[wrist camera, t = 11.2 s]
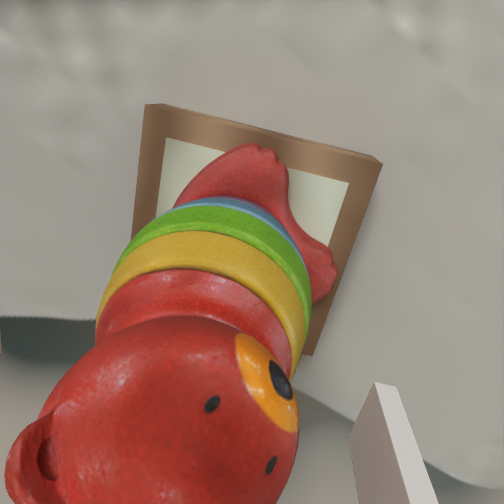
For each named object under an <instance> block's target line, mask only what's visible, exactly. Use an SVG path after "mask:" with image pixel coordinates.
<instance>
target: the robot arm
mask: <svg viewBox="0 0 504 504" xmlns="http://www.w3.org/2000/svg"><path fill="white" fill-rule="evenodd" d="M0 355H1V338H0ZM348 441H349V446H350V452H351V458H352V463H353V469H354V476H355V481H356V487H357V493H358V499H359V504H438V501H437V499H436V496H435V493H434V490H433V487H432V485H431V482H430V479H429V477H428V474H427V471H426V468H425V465H424V463H423V460H422V457H421V454H420V452H419V449H418V446H417V443H416V441H415V438H414V435H413V432H412V430H411V427H410V424H409V421H408V419H407V416H406V413H405V410H404V408H403V405H402V402H401V399H400V397H399V394H398V391H397V388H396V387H393V386H389V385H385V384H381V383H377V382H374V384H373V386H372V388H371V390H370V392H369V394H368V396H367V398H366V401H365V403H364V405H363V407H362V409H361V411H360V413H359V415H358V418H357V420H356V422H355V424H354V426H353V428H352V431H351V433H350V435H349V437H348Z"/></svg>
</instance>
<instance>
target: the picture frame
mask: <svg viewBox="0 0 504 504" xmlns="http://www.w3.org/2000/svg"><path fill="white" fill-rule="evenodd" d="M247 143H255V144H258V145H260V146H261V147H262V148H271V149H274V150H275V151H276V152H277V153H278V158H279V160H280V161H281V162H282V163H284V164H285V165H286V167H287V169H288V174H289V187H288V200H289V206H290V209H291V212H292V214H293V216H294V218H295V220H296V222H297V223H298V225H299V226H300V227H301V228H302V229H303V230H304V231H305V232H306V233H307V234H308V235H309V236H311V237H313V238H314V239H316V240H318V241H319V242H321V243H323V244H325V245H326V246H327V247H328V248H329V249H330V250H331V251H332V253H333V259H332V260H333V261H334V262H335V263H336V265H337V267H338V275H337V277H336V279H335V281H334V282H333V287H332V291H331V292H330V293H329V294H328V295H327V296H325V297H324V298H323V299H321V300H319V301H317V302H316V303H314V304H312V306H311V317H310V324H309V329H308V333H307V337H306V340H305V343H304V346H303V348H302V352H301V353H303V354H307V355H311V356H313V353H314V350H315V348H316V345H317V342H318V340H319V337H320V334H321V331H322V329H323V326H324V323H325V320H326V318H327V315H328V312H329V310H330V307H331V304H332V301H333V299H334V296H335V293H336V290H337V288H338V285H339V282H340V280H341V277H342V274H343V271H344V269H345V266H346V263H347V260H348V258H349V255H350V252H351V250H352V247H353V244H354V241H355V239H356V236H357V233H358V230H359V228H360V225H361V222H362V220H363V217H364V214H365V211H366V209H367V206H368V203H369V201H370V198H371V195H372V192H373V190H374V187H375V184H376V181H377V179H378V176H379V173H380V171H381V168H382V165H383V164H382V163H381V162H379V161H378V160H377V159H376V158H374V157H373V156H370V155H366V154H362V153H358V152H354V151H350V150H346V149H342V148H338V147H334V146H330V145H326V144H322V143H318V142H314V141H310V140H306V139H302V138H298V137H294V136H290V135H286V134H282V133H278V132H274V131H270V130H266V129H262V128H258V127H254V126H250V125H246V124H242V123H238V122H234V121H230V120H226V119H222V118H218V117H214V116H210V115H206V114H202V113H198V112H194V111H190V110H186V109H182V108H178V107H174V106H170V105H166V104H148V105H145V108H144V118H143V128H142V137H141V147H140V157H139V166H138V176H137V186H136V196H135V205H134V215H133V225H132V234H131V241H132V239H133V238H134V237H135V236H136V234H137V233H138V232H139V231H140V230H141V229H143V228H144V227H145V226H146V225H147V224H149V223H150V222H151V221H152V220H154V219H155V218H156V217H158V216H160V215H161V214H163V213H165V212H167V211H168V210H170V209H172V208H173V206H174V204H175V202H176V200H177V199H178V197H179V195H180V194H181V192H182V191H183V190H184V188H185V187H186V186H187V185H188V183H189V182H190V181H191V180H192V179H193V178H194V177H195V176H196V175H197V174H198V173H199V172H200V171H201V170H202V169H203V168H204V167H205V166H207V165H208V164H209V163H210V162H212V161H213V160H215V159H216V158H217V157H219V156H221V155H222V154H224V153H226V152H227V151H229V150H231V149H233V148H235V147H237V146H239V145H242V144H247Z"/></svg>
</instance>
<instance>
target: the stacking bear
mask: <svg viewBox="0 0 504 504" xmlns="http://www.w3.org/2000/svg"><path fill="white" fill-rule="evenodd" d="M288 187H289V174H288V169H287V167H286V165H285V164H284V163H282V162H281V161H280V160H279V158H278V153H277V152H276V151H275V150H274V149H271V148H262V147H261V146H260V145H258V144H255V143H247V144H242V145H239V146H237V147H235V148H233V149H231V150H229V151H227V152H226V153H224V154H222V155H221V156H219V157H217V158H216V159H215V160H213V161H212V162H210V163H209V164H208V165H207V166H205V167H204V168H203V169H202V170H201V171H200V172H199V173H198V174H197V175H196V176H195V177H194V178H193V179H192V180H191V181H190V182H189V183H188V185H187V186H186V187H185V188H184V190H183V191H182V192H181V194H180V195H179V197H178V199H177V200H176V202H175V204H174V206H173V208H172V209H170V210H168V211H167V212H165V213H163V214H161V215H160V216H158V217H156V218H155V219H154V220H152V221H151V222H150V223H149V224H147V225H146V226H145V227H144V228H143V229H141V230H140V231H139V232H138V233H137V234H136V236H135V237H134V238H133V239H132V241H131V242H130V243H129V245H128V246H127V248H126V249H125V251H124V252H123V254H122V255H121V257H120V259H119V261H118V262H117V264H116V266H115V268H114V271H113V273H112V276H111V279H110V281H109V283H108V285H107V287H106V289H105V292H104V294H103V297H102V300H101V303H100V306H99V310H98V314H97V318H96V336H95V338H96V339H95V347H93V348H92V349H91V350H90V351H88V352H87V353H86V354H85V355H84V356H83V357H82V358H81V359H80V360H79V361H78V362H77V363H76V364H75V365H74V366H72V367H71V368H70V369H69V371H68V372H67V373H66V374H65V375H64V376H63V377H62V379H61V380H60V381H59V382H58V384H57V385H56V386H55V388H54V389H53V391H52V392H51V394H50V396H49V397H48V399H47V400H46V402H45V404H44V406H43V408H42V410H41V412H40V414H39V416H38V419H37V421H35V422H33V423H31V424H29V425H28V426H27V427H26V428H25V429H24V430H23V431H22V432H21V433H20V434H19V436H18V437H17V439H16V441H15V442H14V443H13V445H12V448H11V449H10V451H9V454H8V456H7V460H6V467H5V474H4V476H5V485H6V489H7V492H8V494H9V496H10V498H11V499H12V500H13V502H14V503H15V504H276V502H277V500H278V499H279V497H280V495H281V493H282V491H283V489H284V487H285V485H286V483H287V481H288V478H289V476H290V473H291V470H292V467H293V464H294V460H295V456H296V452H297V448H298V439H299V412H298V405H297V401H296V398H295V394H294V391H293V388H292V386H291V384H290V381H291V379H292V377H293V375H294V373H295V370H296V367H297V365H298V362H299V359H300V355H301V352H302V348H303V346H304V343H305V340H306V337H307V333H308V329H309V324H310V317H311V306H312V304H314V303H316V302H317V301H319V300H321V299H323V298H324V297H325V296H327V295H328V294H329V293H330V292H331V291H332V287H333V282H334V281H335V279H336V277H337V275H338V267H337V265H336V263H335V262H334V261H333V260H332V259H333V253H332V251H331V250H330V249H329V248H328V247H327V246H326V245H325V244H323V243H321V242H319V241H318V240H316V239H314V238H313V237H311V236H309V235H308V234H307V233H306V232H305V231H304V230H303V229H302V228H301V227H300V226H299V225H298V223H297V222H296V220H295V218H294V216H293V214H292V212H291V209H290V206H289V200H288Z"/></svg>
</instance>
